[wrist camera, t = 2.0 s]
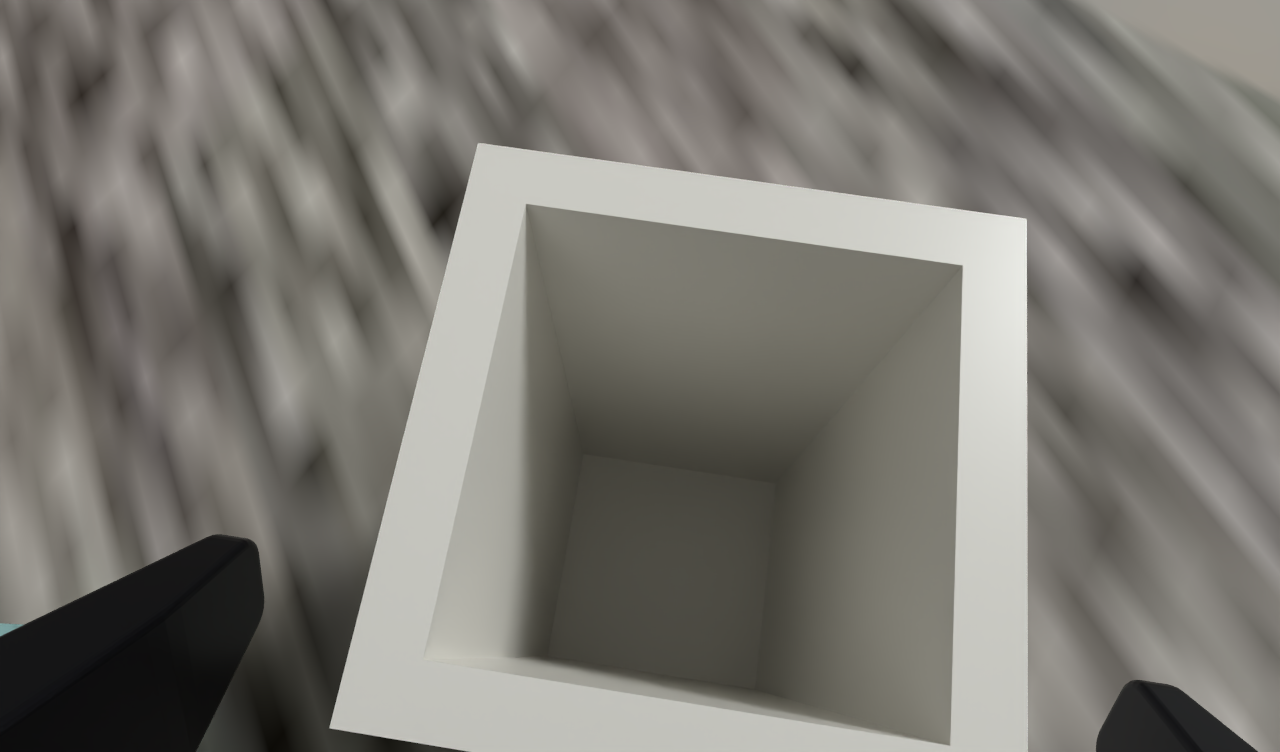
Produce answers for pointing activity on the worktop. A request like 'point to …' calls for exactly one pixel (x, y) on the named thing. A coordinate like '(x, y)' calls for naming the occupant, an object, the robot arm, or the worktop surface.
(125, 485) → the worktop surface
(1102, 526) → the worktop surface
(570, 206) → the white hollow square box
